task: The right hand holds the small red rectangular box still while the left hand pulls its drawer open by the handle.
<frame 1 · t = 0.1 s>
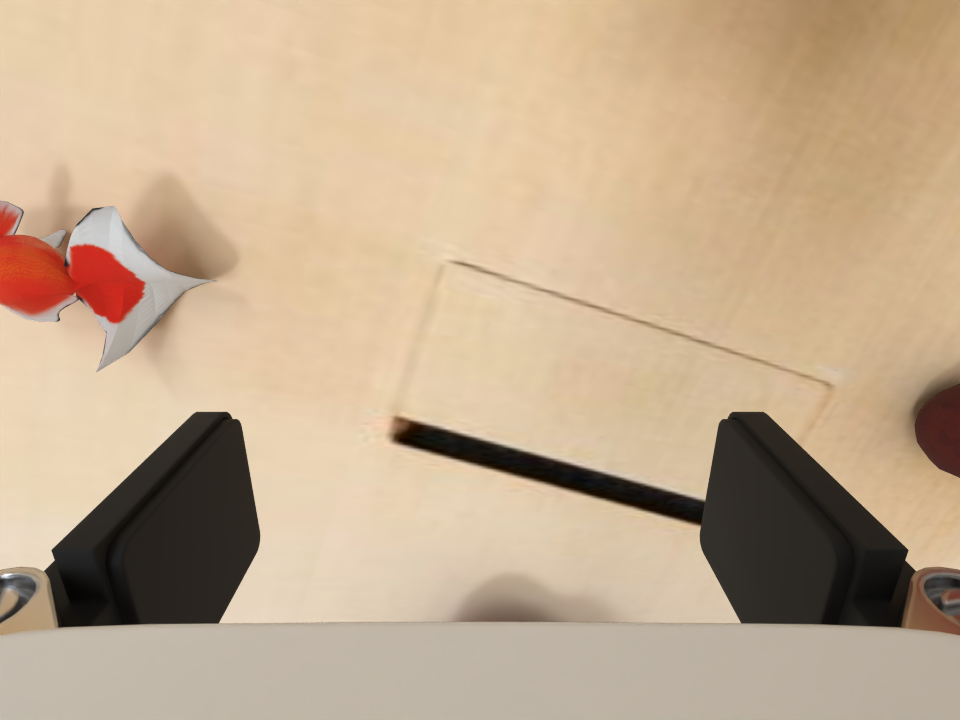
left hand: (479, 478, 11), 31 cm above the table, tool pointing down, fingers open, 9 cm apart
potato: (941, 409, 45), on the table
fish: (120, 260, 41), on the table
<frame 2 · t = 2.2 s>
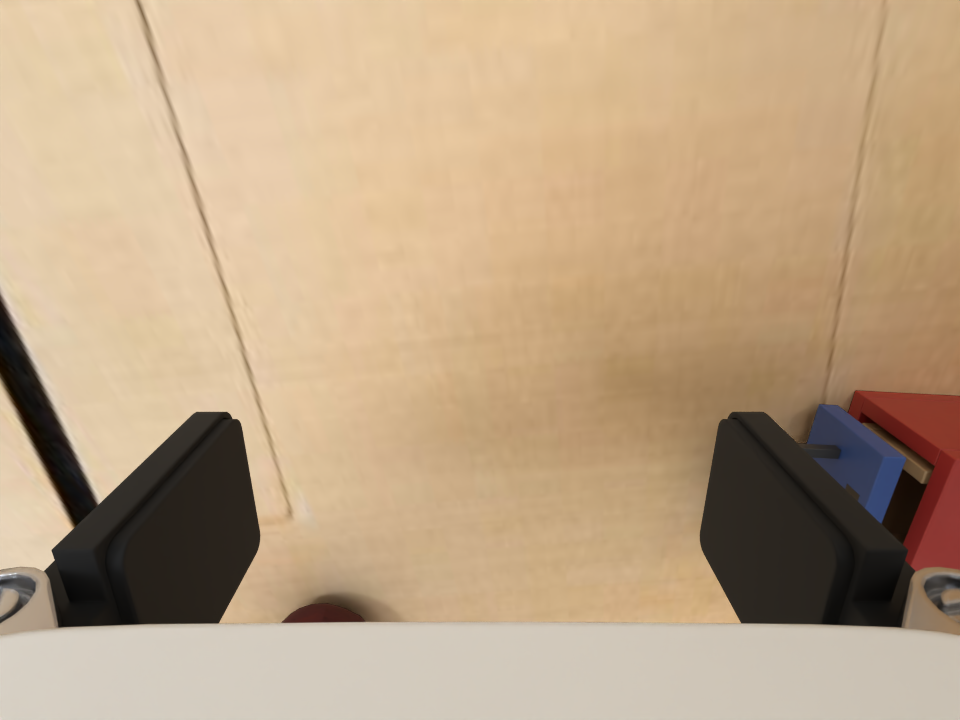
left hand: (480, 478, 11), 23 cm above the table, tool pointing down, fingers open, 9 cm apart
drawer: (930, 507, 34), point 4 cm above the table, slide at 1.5 cm
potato: (334, 619, 42), on the table
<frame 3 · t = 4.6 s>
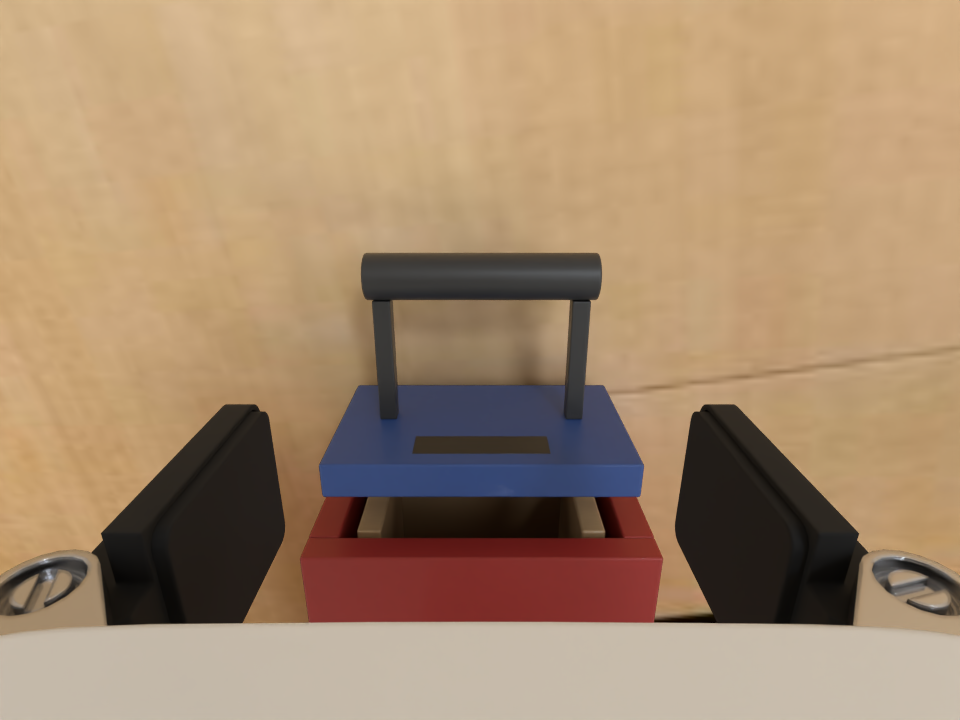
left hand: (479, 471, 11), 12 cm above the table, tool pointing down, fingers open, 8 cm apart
drawer: (481, 563, 22), point 4 cm above the table, slide at 1.5 cm
red rectangular box: (481, 606, 29), on the table, touching right hand
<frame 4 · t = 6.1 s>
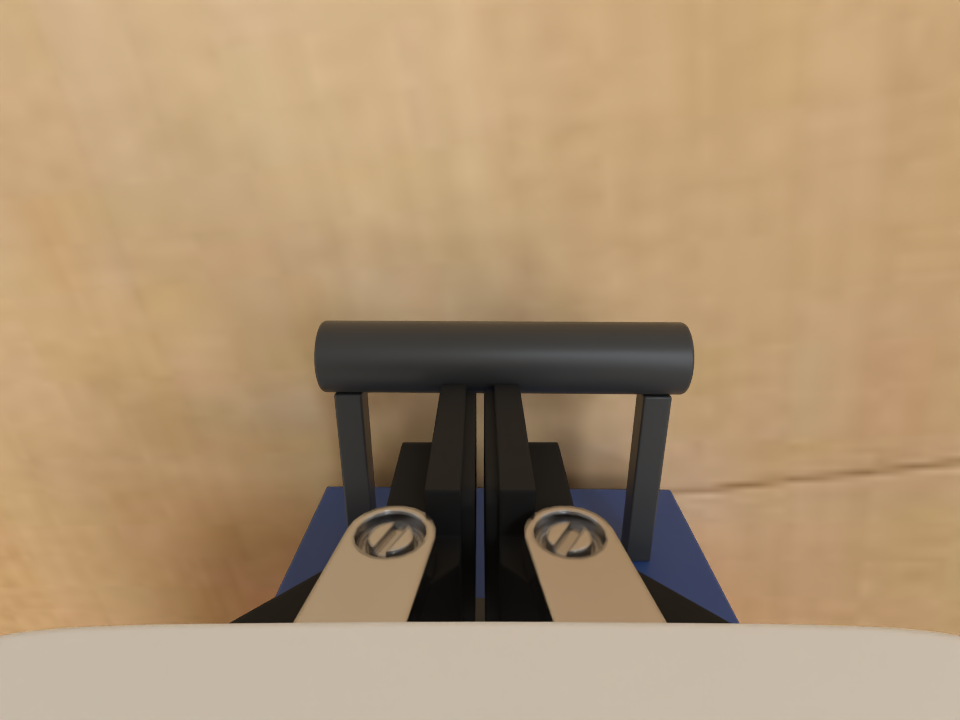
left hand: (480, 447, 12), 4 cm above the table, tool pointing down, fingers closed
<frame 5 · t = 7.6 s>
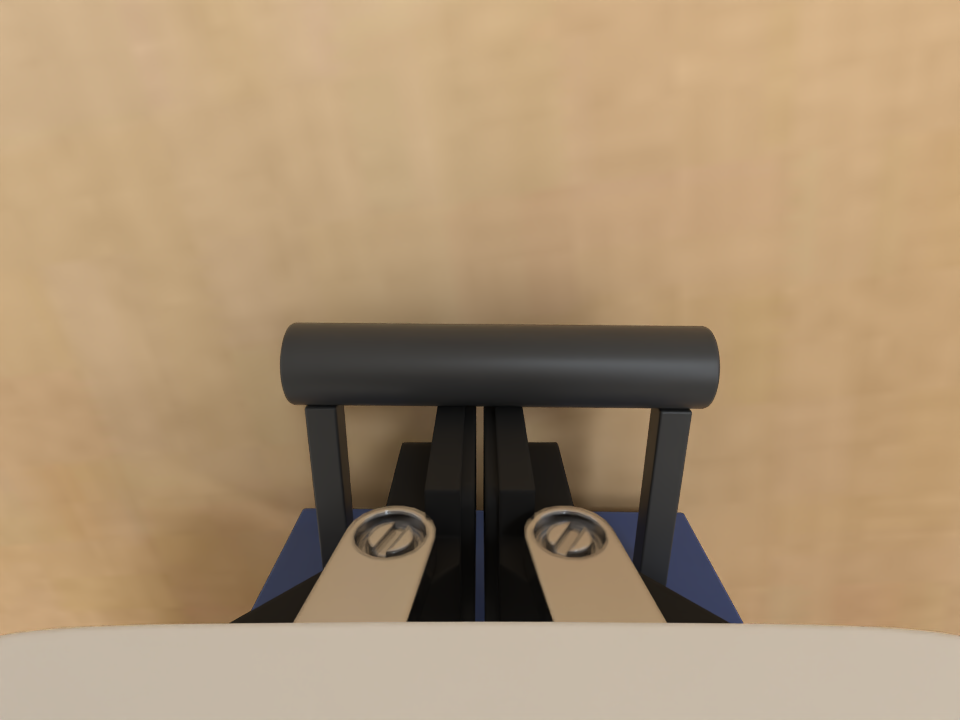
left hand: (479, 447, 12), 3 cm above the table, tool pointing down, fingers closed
when the right hand's fingers open (3 cm above the table, at t = 9.5 s): red rectangular box stays where it is, on the table.
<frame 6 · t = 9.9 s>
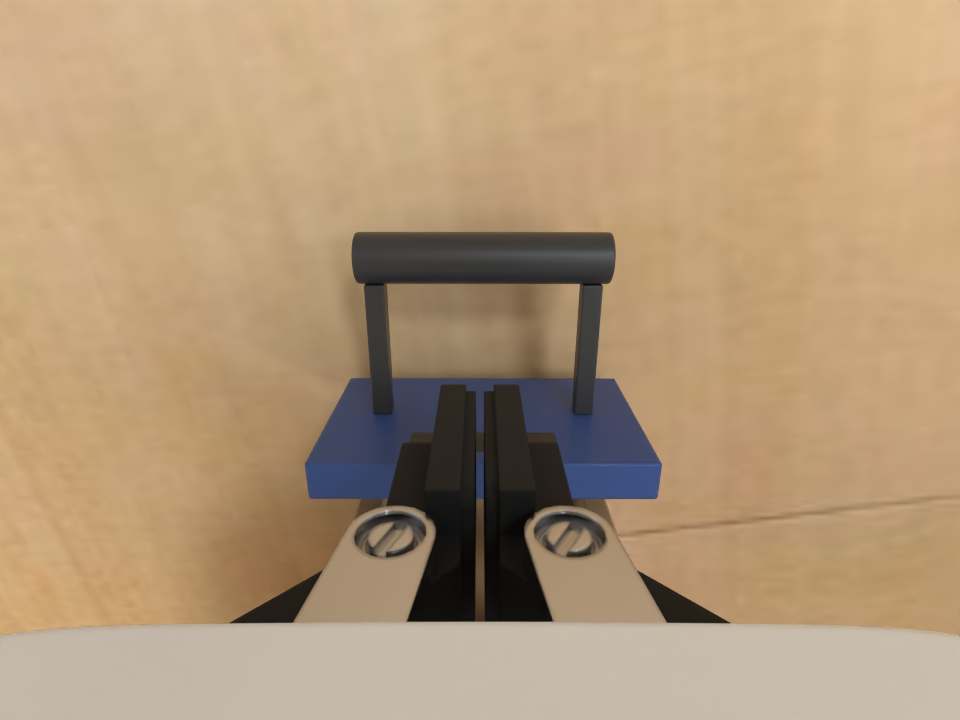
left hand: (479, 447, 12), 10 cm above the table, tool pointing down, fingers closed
drawer: (482, 569, 21), point 4 cm above the table, slide at 8.8 cm
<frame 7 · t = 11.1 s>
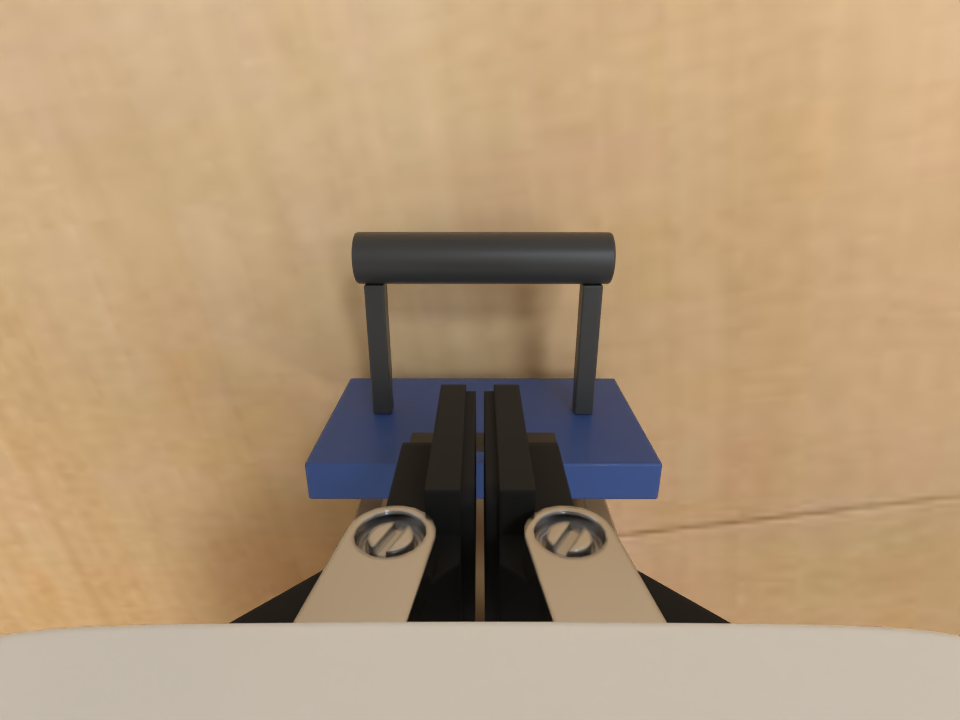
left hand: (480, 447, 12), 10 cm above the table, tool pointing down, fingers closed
drawer: (482, 569, 21), point 4 cm above the table, slide at 8.8 cm
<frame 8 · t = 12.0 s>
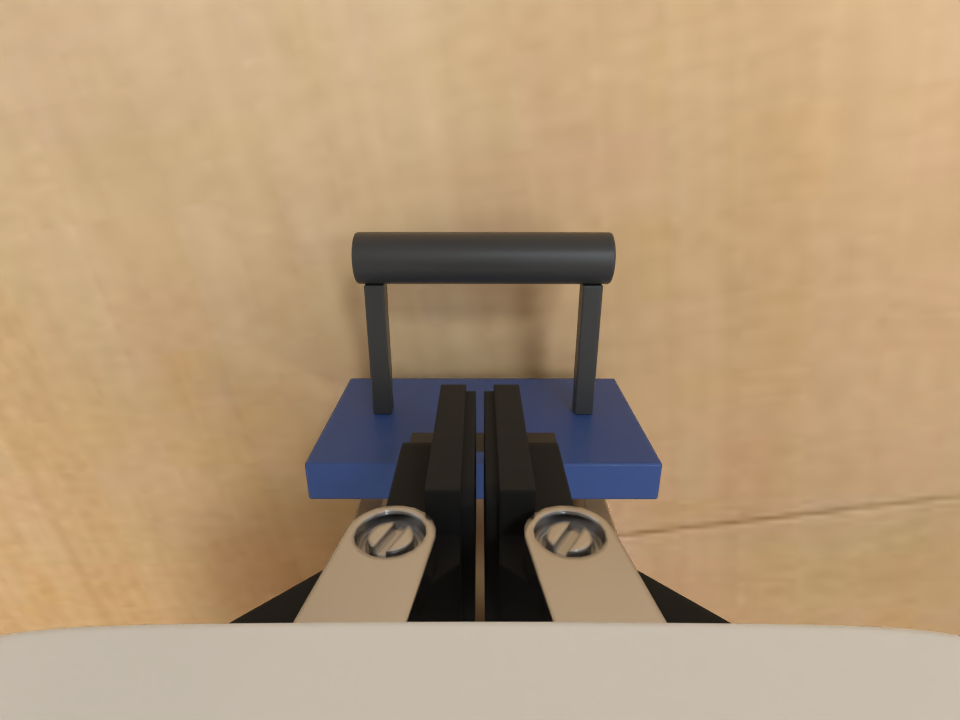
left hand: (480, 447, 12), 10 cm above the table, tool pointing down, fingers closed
drawer: (482, 569, 21), point 4 cm above the table, slide at 8.8 cm
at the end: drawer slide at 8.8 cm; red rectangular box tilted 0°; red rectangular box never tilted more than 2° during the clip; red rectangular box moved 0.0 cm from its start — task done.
